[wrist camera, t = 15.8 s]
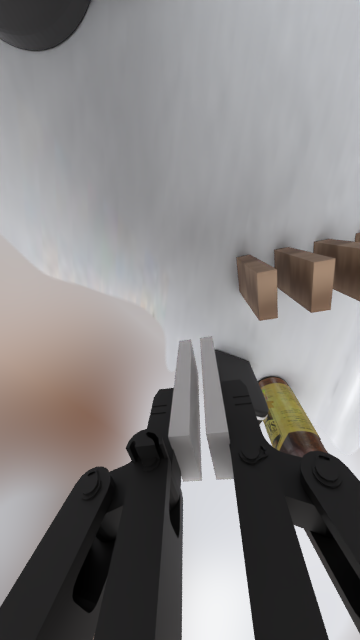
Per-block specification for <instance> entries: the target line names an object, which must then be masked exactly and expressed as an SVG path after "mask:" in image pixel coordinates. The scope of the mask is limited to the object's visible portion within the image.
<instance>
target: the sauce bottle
mask: <svg viewBox="0 0 360 640" xmlns="http://www.w3.org/2000/svg"><path fill="white" fill-rule="evenodd" d="M259 385H260V388H261V390H262V392H263V395H264V397H265V400H266V402H267V405H268V409H269V412H268V415H267V417H266V418H265V419H264V420H263V422H264V424H265V427H266V429H267V433H268V435H269V438H270V440H271V443H272V446H273V448H275V449H277V450H279V451H281V452H284V453H286V454H291V455H295V456H299V457H303V455H305V454H306V453H308V452H310V451H322V452H326V453H328V452H327V451H326V450H325V448H324V446H323V444H322V443H321V441H320V437H319V435H318V434H317V432H316V430H315V429H314V427H313V425H312V424H311V422H310V420H309V418H308V417H307V415H306V413H305V412H304V410H303V408H302V406H301V405H300V403H299V401H298V400H297V398H296V396H295V395H294V393H293V391H292V390H291V388H290V387H289V386H288V384H287V383H286V382H285V381H284V380H282V379H280V378H276V377H269V378H266V379H263V380H261V381H260V382H259Z"/></svg>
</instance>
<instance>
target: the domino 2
mask: <svg viewBox="0 0 360 640" xmlns="http://www.w3.org/2000/svg"><path fill="white" fill-rule="evenodd" d="M335 259H336V258H332V257H328V256H323V255H319V254H315V253H311V252H307V251H303V250H299V249H294V248H290V247H286V248H281V249H276V250H274V261H275V269H277V288H279V289H280V290H281V291H283V292H284V293H285V294H287V295H288V296H289V297H291V298H292V299H293V300H295V301H296V302H297V303H299V304H300V305H301V306H303V307H304V308H305V309H307V310H308V311H309V312H311V313H313V312H319V311H326V310H330V309H331V299H332V289H333V279H334V269H335Z"/></svg>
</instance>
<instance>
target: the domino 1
mask: <svg viewBox="0 0 360 640" xmlns="http://www.w3.org/2000/svg"><path fill="white" fill-rule="evenodd" d="M236 258H237V269H238V280H239V291H240V293H241V295H242V296H243V298H244V299H245V300H246V302H247V303H248V305H249V306H250V308H251V309H252V311H253V312H254V314H255V315H256V316H257V318H258V319H259V321H261V320H268V319H274V318H278V309H277V269H275V268H274V267H272V266H270V265H268V264H266V263H264V262H262V261H261V260H259V259H257V258H255V257H253V256H251V255H246V256H241V257H236Z"/></svg>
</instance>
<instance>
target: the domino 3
mask: <svg viewBox="0 0 360 640" xmlns="http://www.w3.org/2000/svg"><path fill="white" fill-rule="evenodd" d="M313 253H315V254H319V255H323V256H328V257H332V258H336V259H335V269H334V279H333V289H334V290H336V291H339V292H341V293H343V294H345V295H347V296H349V297H352V298H354V299H356V300H358V301H360V242H352V241H343V240H333V239H326V240H321V241H316V242H314V252H313Z"/></svg>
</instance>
